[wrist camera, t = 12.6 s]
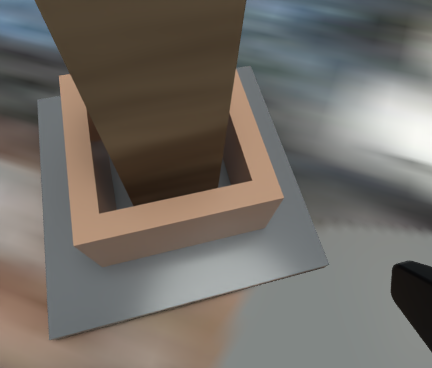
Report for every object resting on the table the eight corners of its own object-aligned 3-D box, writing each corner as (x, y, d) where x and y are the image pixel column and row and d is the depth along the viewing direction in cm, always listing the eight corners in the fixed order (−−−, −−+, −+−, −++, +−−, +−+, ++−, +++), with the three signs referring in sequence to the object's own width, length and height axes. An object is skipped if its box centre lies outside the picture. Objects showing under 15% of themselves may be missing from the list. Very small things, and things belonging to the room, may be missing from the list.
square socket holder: (323, 267, 17) (368, 243, 12) (56, 339, 15) (-3, 341, 10) (248, 74, 22) (261, 9, 17) (43, 108, 20) (0, 43, 15)
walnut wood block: (216, 199, 17) (262, -108, 5) (138, 217, 16) (-7, -87, 5) (197, 136, 19) (201, -211, 7) (126, 149, 18) (-5, -206, 6)
